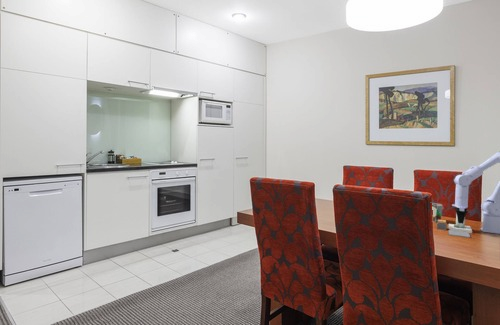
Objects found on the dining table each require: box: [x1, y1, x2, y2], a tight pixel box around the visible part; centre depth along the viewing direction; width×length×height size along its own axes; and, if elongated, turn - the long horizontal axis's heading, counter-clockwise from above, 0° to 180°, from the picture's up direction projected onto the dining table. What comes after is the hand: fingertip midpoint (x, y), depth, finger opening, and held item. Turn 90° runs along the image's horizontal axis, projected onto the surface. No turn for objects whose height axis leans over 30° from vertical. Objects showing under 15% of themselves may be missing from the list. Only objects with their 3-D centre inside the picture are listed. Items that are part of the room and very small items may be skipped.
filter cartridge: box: [455, 212, 466, 228], centre depth 174 cm, size 4×4×9 cm
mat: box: [447, 229, 471, 238], centre depth 165 cm, size 9×9×1 cm
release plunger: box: [438, 219, 447, 224], centre depth 176 cm, size 4×4×4 cm
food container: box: [431, 202, 445, 224], centre depth 194 cm, size 12×6×10 cm, turn 179°
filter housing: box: [436, 222, 473, 234], centre depth 175 cm, size 16×10×3 cm, turn 60°
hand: (460, 222), depth 174 cm, fingers closed on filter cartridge, 4 cm apart
